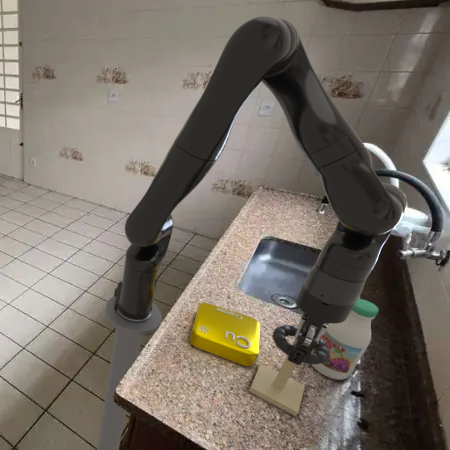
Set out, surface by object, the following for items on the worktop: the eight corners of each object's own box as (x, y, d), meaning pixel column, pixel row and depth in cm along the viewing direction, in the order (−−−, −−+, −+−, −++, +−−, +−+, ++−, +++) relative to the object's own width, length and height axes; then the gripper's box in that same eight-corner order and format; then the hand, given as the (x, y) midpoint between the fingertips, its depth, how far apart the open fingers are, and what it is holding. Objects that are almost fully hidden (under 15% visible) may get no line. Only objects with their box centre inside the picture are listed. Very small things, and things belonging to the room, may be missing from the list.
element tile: (255, 331, 96) (261, 318, 94) (253, 370, 85) (259, 356, 83) (197, 311, 103) (200, 298, 101) (187, 344, 92) (191, 331, 90)
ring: (266, 348, 73) (270, 341, 72) (276, 324, 79) (279, 316, 78) (324, 374, 68) (328, 367, 66) (329, 346, 74) (333, 338, 73)
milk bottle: (320, 351, 90) (355, 289, 81) (355, 374, 84) (397, 311, 74) (301, 360, 88) (334, 298, 78) (335, 385, 81) (376, 321, 72)
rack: (248, 391, 80) (269, 346, 73) (258, 367, 86) (278, 323, 79) (295, 416, 75) (323, 370, 68) (302, 389, 80) (328, 344, 73)
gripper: (310, 266, 70) (280, 329, 78) (298, 300, 61) (266, 368, 69) (359, 281, 65) (322, 347, 73) (354, 320, 56) (312, 391, 64)
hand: (295, 357), depth 71 cm, fingers closed on ring, 2 cm apart
